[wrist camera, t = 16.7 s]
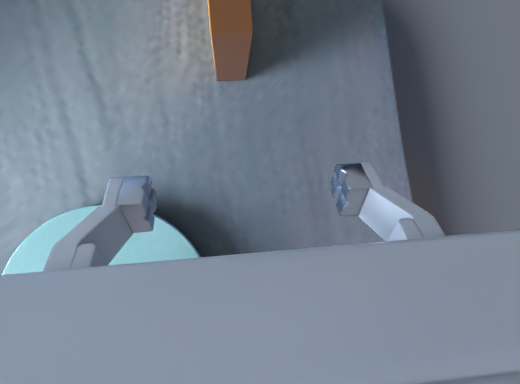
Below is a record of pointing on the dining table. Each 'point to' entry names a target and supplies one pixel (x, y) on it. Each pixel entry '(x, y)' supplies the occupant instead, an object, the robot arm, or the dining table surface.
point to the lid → (134, 251)
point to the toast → (231, 37)
